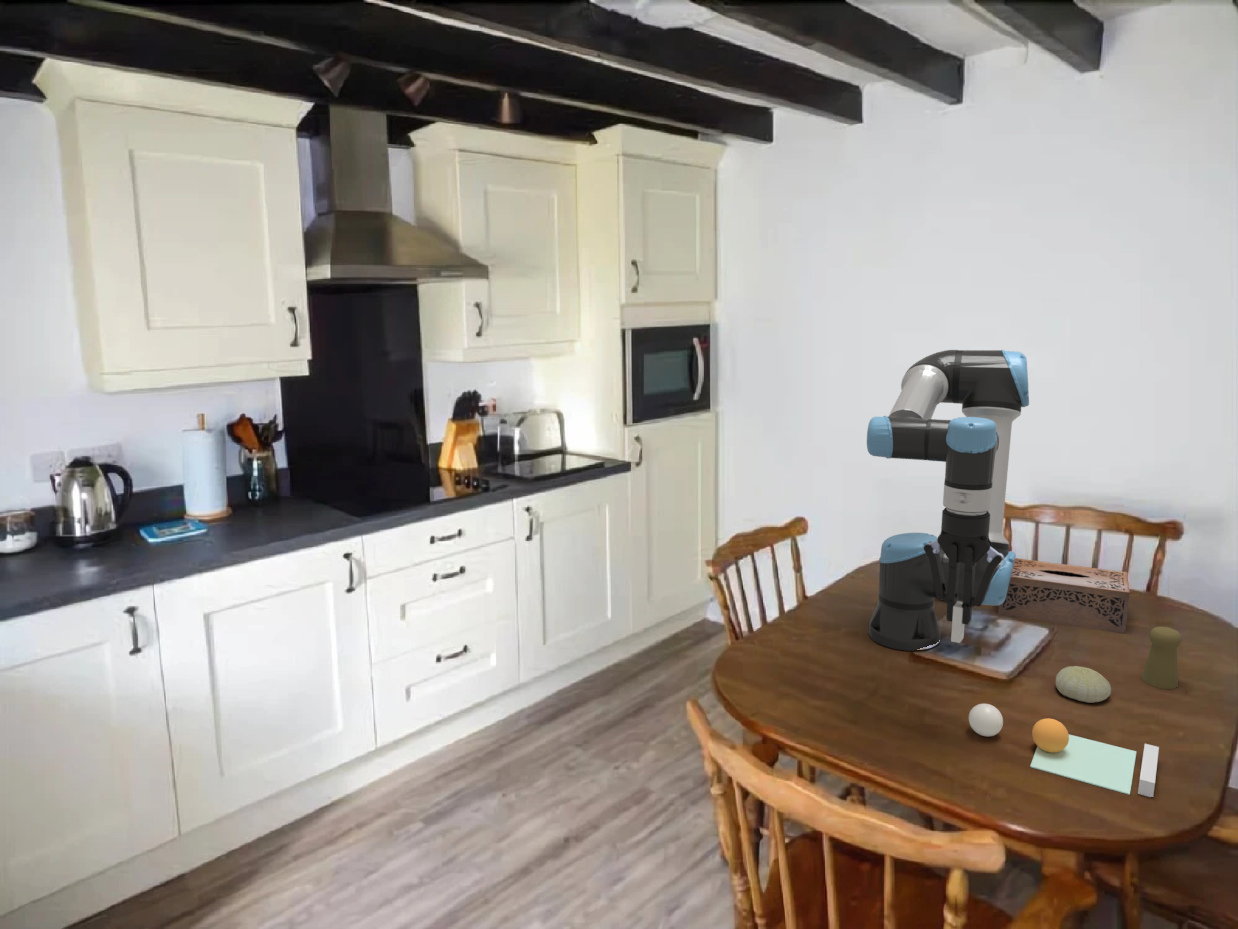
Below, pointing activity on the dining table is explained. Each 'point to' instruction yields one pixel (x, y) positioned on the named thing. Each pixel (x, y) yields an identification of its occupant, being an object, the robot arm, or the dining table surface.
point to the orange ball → (1050, 735)
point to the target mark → (1090, 763)
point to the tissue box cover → (1068, 595)
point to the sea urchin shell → (1082, 684)
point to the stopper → (1148, 770)
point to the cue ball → (985, 720)
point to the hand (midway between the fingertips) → (957, 639)
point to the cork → (1162, 658)
